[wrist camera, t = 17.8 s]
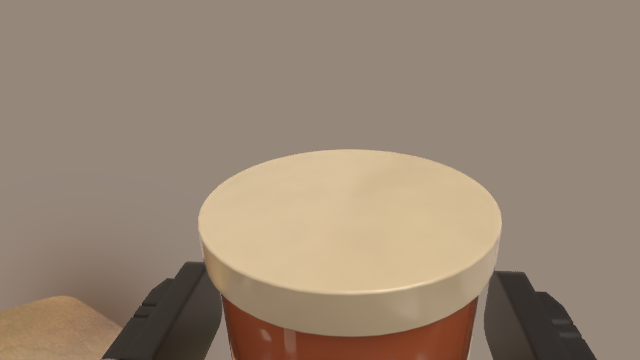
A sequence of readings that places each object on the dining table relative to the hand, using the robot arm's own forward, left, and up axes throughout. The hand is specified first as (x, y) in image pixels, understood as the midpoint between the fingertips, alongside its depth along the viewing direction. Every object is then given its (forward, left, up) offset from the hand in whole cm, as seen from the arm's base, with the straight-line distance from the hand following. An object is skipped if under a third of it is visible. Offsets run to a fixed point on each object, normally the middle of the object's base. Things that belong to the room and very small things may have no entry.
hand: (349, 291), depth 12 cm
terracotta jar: (-1, +2, -6) cm, 7 cm away
